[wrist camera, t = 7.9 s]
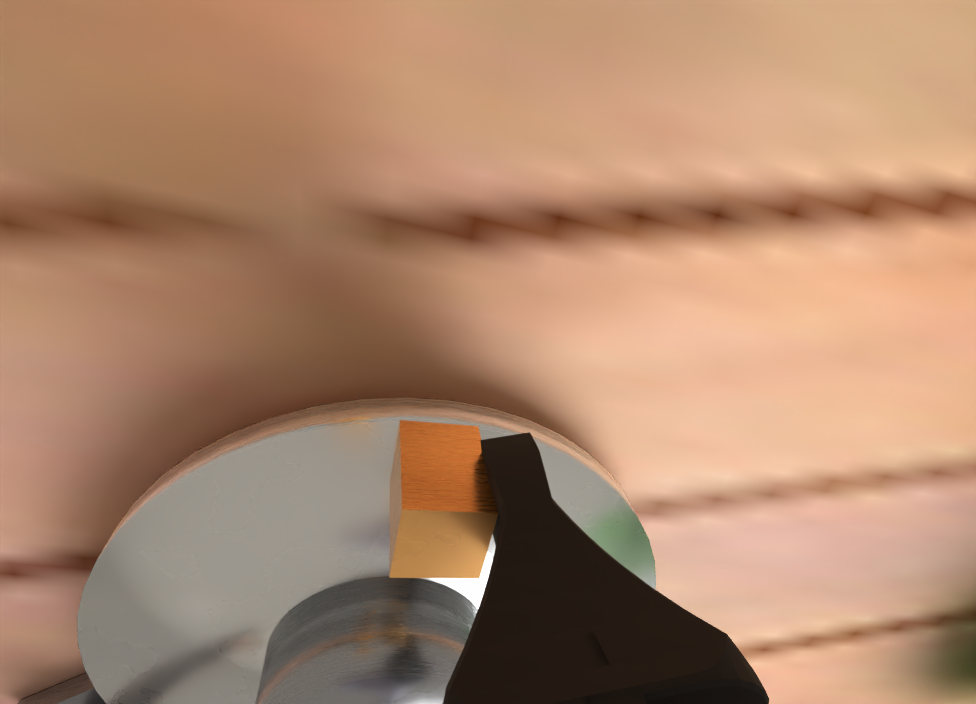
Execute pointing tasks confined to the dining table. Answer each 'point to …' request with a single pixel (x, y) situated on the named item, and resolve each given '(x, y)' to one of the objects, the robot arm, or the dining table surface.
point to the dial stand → (67, 693)
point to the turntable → (311, 536)
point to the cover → (368, 644)
